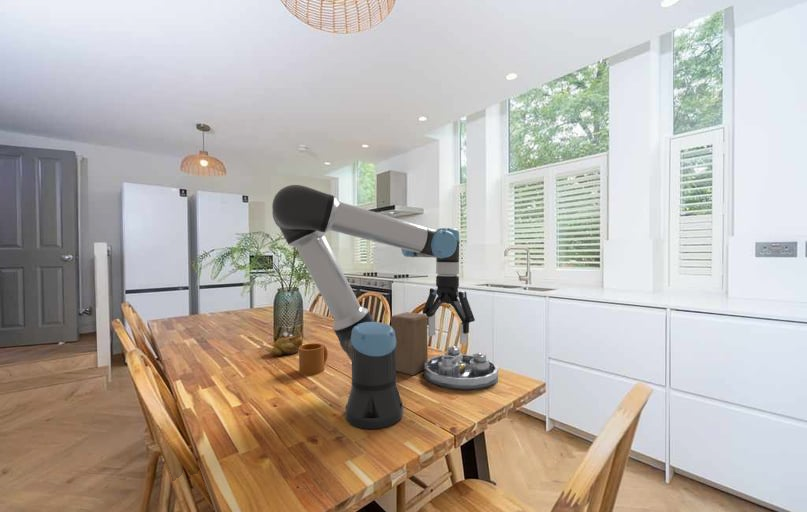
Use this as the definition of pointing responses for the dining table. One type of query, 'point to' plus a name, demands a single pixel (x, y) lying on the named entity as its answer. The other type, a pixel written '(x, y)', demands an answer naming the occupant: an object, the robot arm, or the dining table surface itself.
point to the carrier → (463, 371)
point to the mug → (312, 358)
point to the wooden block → (410, 342)
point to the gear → (448, 367)
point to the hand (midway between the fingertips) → (446, 339)
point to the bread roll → (287, 345)
